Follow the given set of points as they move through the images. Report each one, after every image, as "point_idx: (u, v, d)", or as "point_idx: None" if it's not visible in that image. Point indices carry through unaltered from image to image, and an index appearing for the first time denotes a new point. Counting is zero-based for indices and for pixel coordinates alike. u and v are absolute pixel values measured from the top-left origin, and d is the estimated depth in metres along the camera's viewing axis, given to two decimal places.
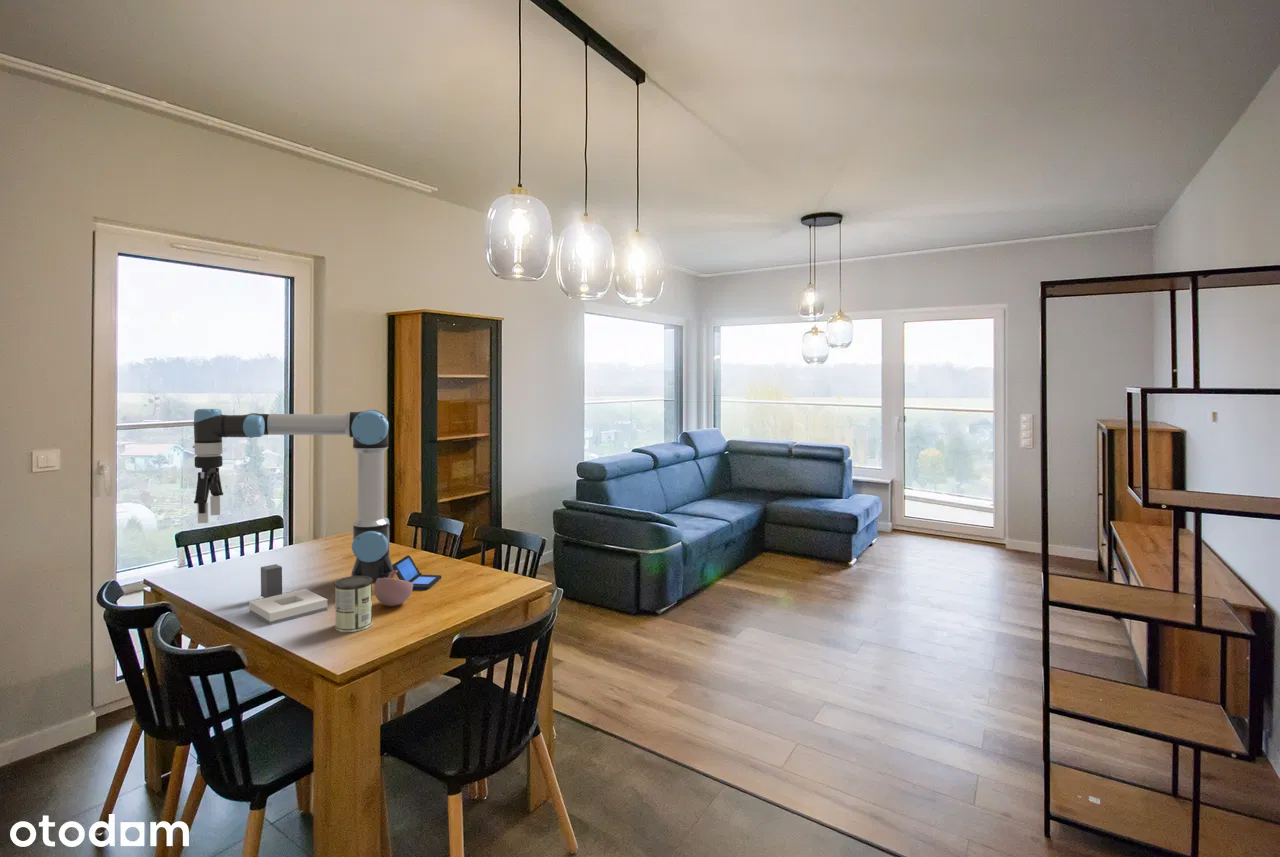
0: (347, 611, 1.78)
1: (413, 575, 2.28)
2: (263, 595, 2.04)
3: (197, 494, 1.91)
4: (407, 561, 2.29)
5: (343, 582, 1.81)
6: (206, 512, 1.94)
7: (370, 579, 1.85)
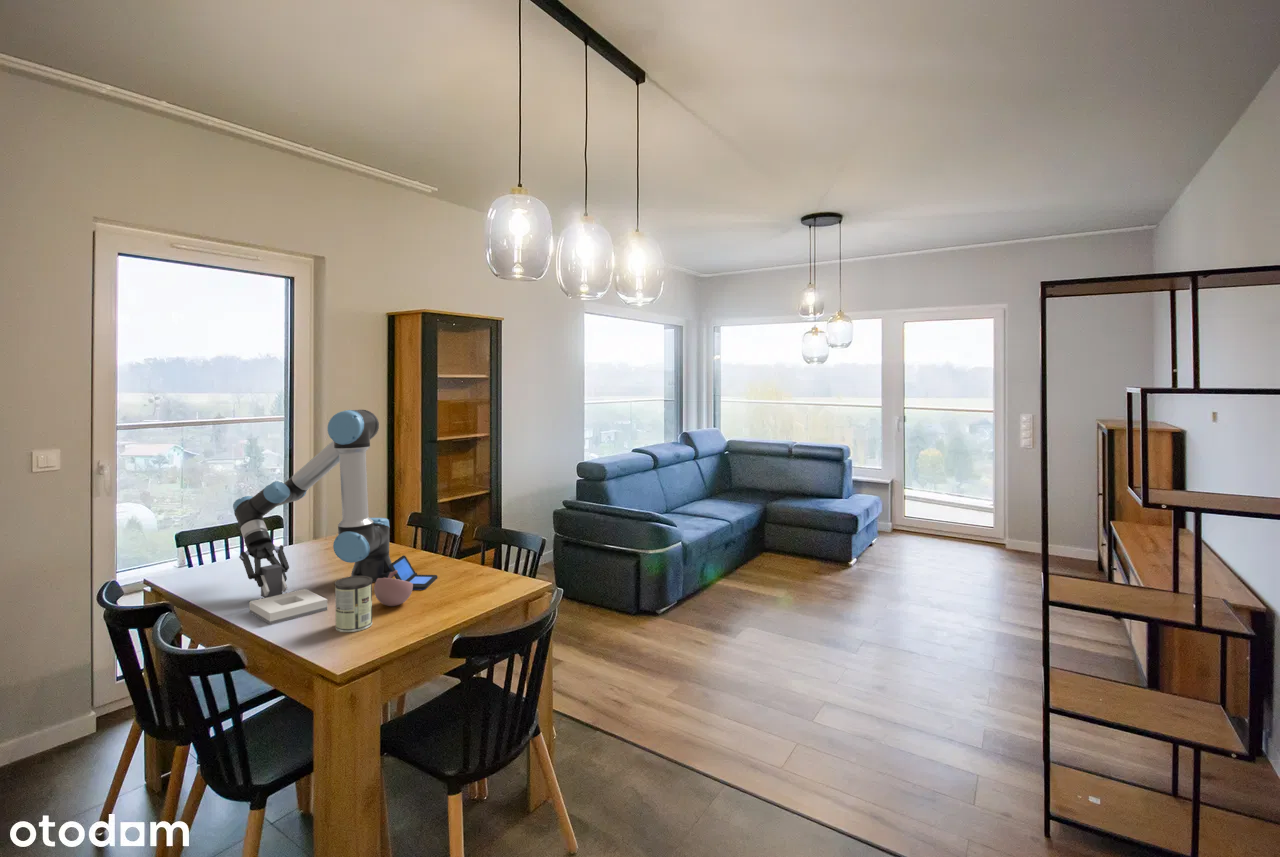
0: (347, 611, 1.78)
1: (409, 575, 2.28)
2: (263, 595, 2.04)
3: (247, 573, 2.03)
4: (403, 561, 2.29)
5: (343, 582, 1.81)
6: (263, 583, 2.02)
7: (370, 579, 1.85)
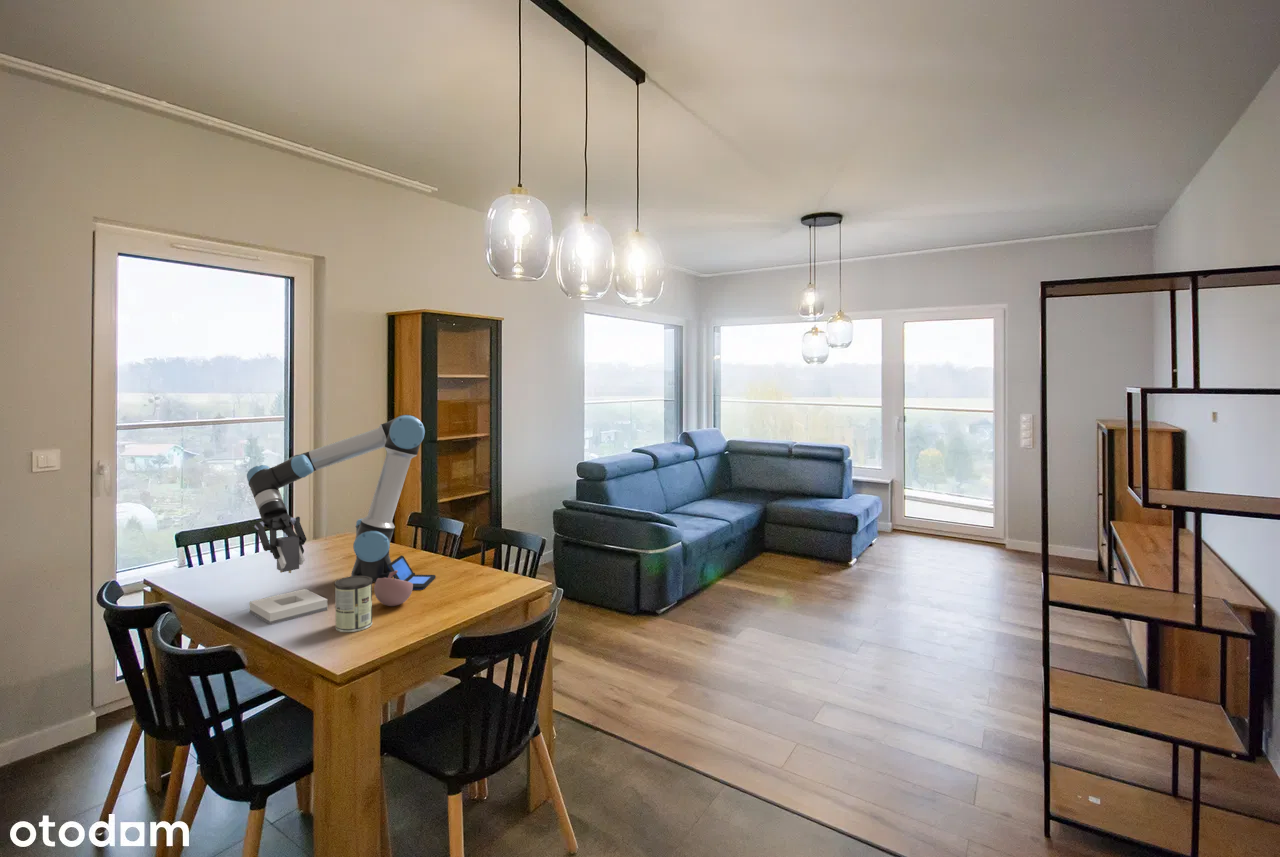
0: (347, 611, 1.78)
1: (407, 575, 2.28)
2: (279, 568, 1.92)
3: (262, 544, 1.91)
4: (401, 561, 2.29)
5: (343, 582, 1.81)
6: (280, 555, 1.90)
7: (370, 579, 1.85)
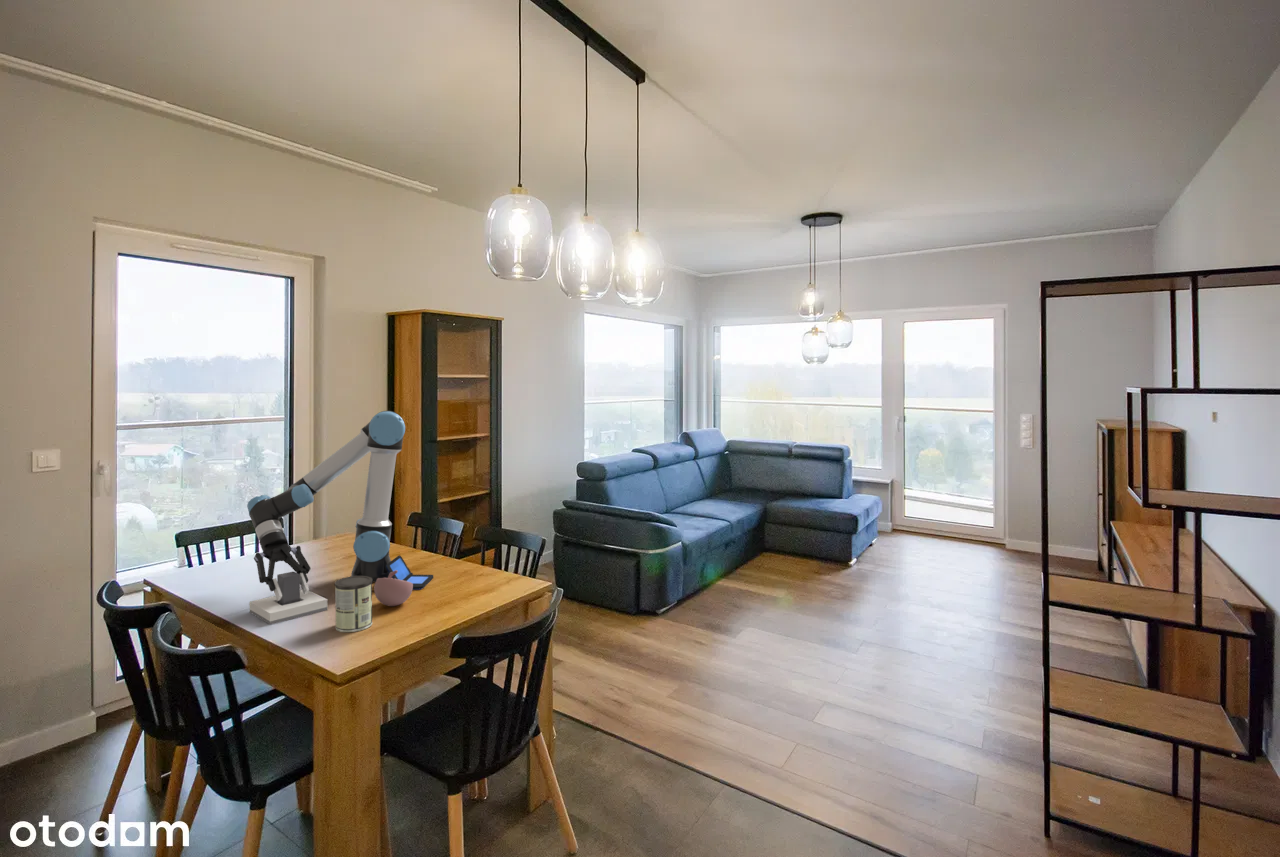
0: (347, 611, 1.78)
1: (405, 575, 2.28)
2: (280, 604, 1.93)
3: (259, 575, 1.91)
4: (399, 561, 2.29)
5: (343, 582, 1.81)
6: (276, 587, 1.90)
7: (370, 579, 1.85)
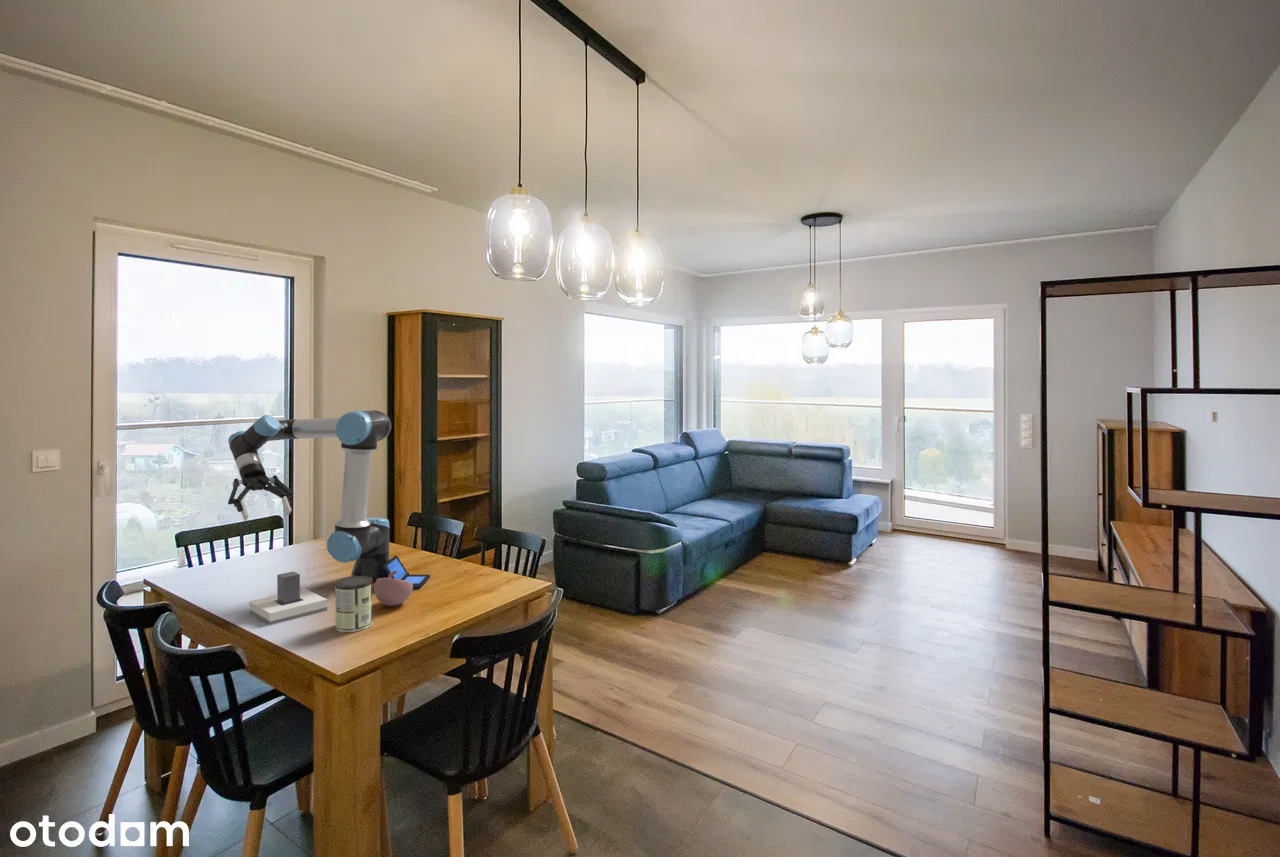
0: (347, 611, 1.78)
1: (402, 575, 2.27)
2: (280, 604, 1.93)
3: None
4: (395, 561, 2.28)
5: (343, 582, 1.81)
6: (243, 508, 2.05)
7: (370, 579, 1.85)
